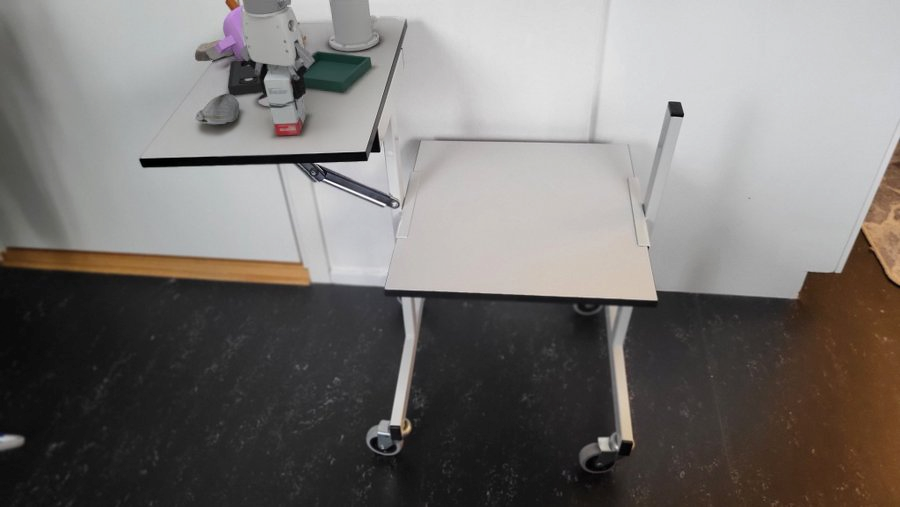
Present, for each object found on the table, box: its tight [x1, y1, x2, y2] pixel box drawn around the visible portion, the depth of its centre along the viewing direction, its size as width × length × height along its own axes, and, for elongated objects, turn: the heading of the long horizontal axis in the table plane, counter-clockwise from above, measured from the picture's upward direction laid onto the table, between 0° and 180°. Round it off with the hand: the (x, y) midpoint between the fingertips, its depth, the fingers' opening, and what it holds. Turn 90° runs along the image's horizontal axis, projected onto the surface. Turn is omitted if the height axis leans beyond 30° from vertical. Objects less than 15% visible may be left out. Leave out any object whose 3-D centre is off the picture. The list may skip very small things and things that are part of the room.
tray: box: [300, 50, 372, 94], centre depth 153 cm, size 14×14×2 cm
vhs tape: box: [227, 60, 263, 96], centre depth 153 cm, size 14×8×2 cm, turn 12°
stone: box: [194, 39, 234, 62], centre depth 165 cm, size 12×5×3 cm, turn 131°
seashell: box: [195, 93, 240, 125], centre depth 137 cm, size 12×8×5 cm
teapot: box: [215, 4, 245, 61], centre depth 160 cm, size 20×12×13 cm
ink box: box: [264, 64, 307, 137], centre depth 131 cm, size 8×5×12 cm, turn 1°
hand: (284, 93), depth 131 cm, fingers closed on ink box, 6 cm apart
